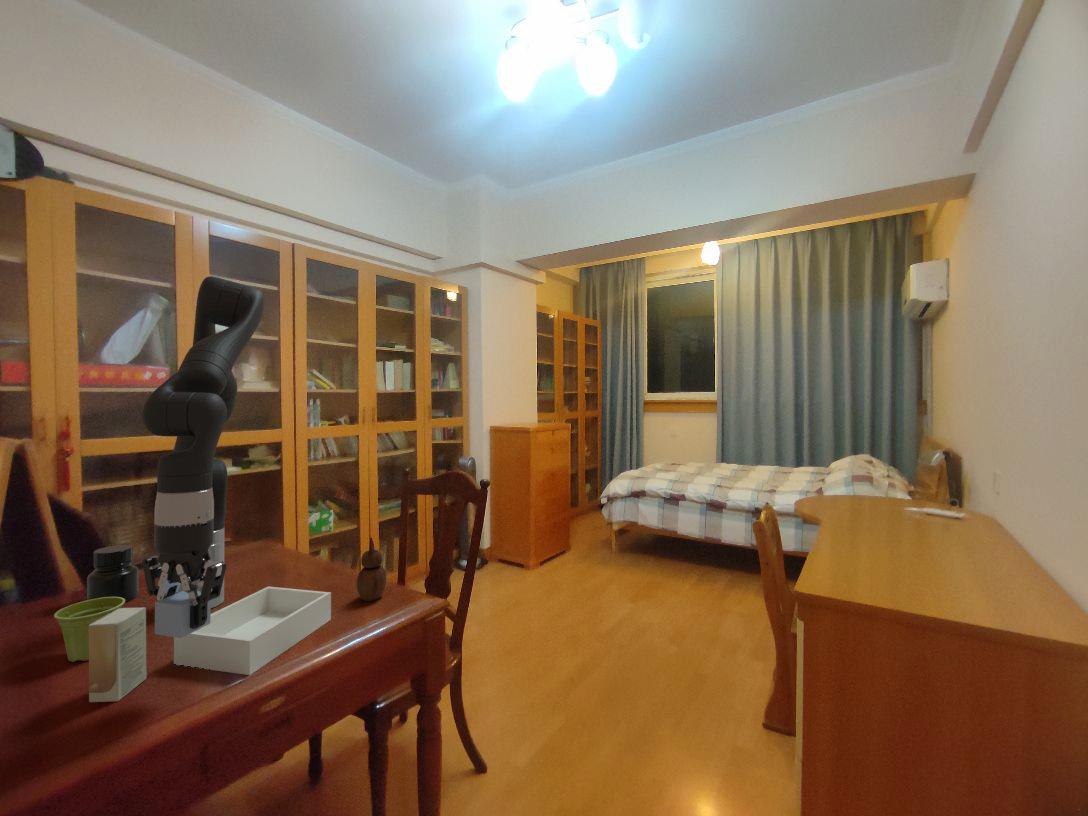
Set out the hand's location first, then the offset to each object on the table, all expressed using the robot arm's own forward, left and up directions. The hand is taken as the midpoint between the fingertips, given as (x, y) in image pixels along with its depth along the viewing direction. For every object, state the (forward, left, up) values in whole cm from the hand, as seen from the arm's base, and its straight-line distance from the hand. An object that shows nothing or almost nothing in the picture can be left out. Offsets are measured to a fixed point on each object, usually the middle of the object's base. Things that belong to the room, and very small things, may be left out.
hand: (183, 623), depth 75 cm
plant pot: (-27, +6, -11) cm, 30 cm away
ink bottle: (-49, +26, -11) cm, 57 cm away
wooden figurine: (+9, +40, -11) cm, 43 cm away
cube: (0, 0, -1) cm, 1 cm away
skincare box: (-10, -2, -11) cm, 15 cm away
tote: (-1, +17, -11) cm, 20 cm away
